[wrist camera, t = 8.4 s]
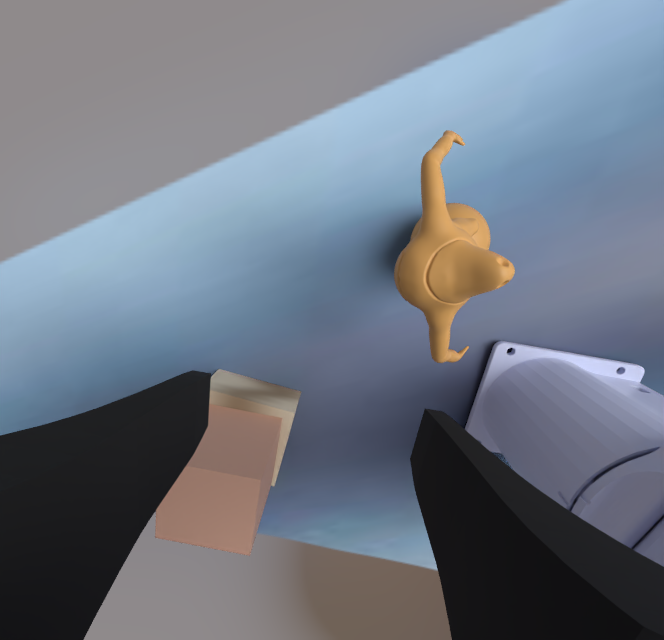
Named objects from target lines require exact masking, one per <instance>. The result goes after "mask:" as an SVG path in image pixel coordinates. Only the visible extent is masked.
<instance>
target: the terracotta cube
mask: <svg viewBox="0 0 664 640" xmlns="http://www.w3.org/2000/svg"><path fill="white" fill-rule="evenodd" d="M282 419H283V418H280V417H274V416H269V415H264V414H259V413H254V412H249V411H244V410H238V409H233V408H228V407H223V406H218V405H213V404H209V419H208V427H207V429H206V431H205V433H204V435H203V437H202V439H201V441H200V443H199V445H198V447H197V449H196V451H195V453H194V455H193V456H192V458H191V459H190V461H189V462H188V464H187V465H186V467H185V468H184V470H183V471H182V473H181V474H180V476H179V477H178V478H177V480H176V481H175V483H174V484H173V486H172V487H171V489H170V490H169V492H168V493H167V495H166V496H165V498H164V499H163V500H162V502H161V503H160V505H159V506H158V508H157V509H156V533H155V537H156V538H159V539H165V540H170V541H175V542H180V543H186V544H191V545H196V546H201V547H207V548H212V549H217V550H222V551H228V552H233V553H238V554H243V555H248V556H250V553H251V550H252V547H253V543H254V540H255V536H256V533H257V530H258V527H259V523H260V520H261V517H262V513H263V510H264V507H265V503H266V500H267V497H268V493H269V490H270V487H271V483H272V479H273V473H274V467H275V461H276V455H277V449H278V443H279V437H280V431H281V425H282Z"/></svg>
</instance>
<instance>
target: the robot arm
mask: <svg viewBox="0 0 664 640" xmlns="http://www.w3.org/2000/svg"><path fill="white" fill-rule="evenodd" d="M509 348H512V351H511V352H510V353H507V350H508V349H509ZM618 368H620V369H619V370H618V371H617V369H618ZM643 375H644V369H643V367H641V366H639V365H636V364H632V363H627V362H621V361H615V360H609V359H604V358H598V357H592V356H586V355H581V354H575V353H569V352H563V351H558V350H552V349H546V348H540V347H535V346H529V345H523V344H517V343H512V342H506V341H499V342H497V343H495V344H494V346H493V348H492V351H491V354H490V357H489V360H488V363H487V366H486V369H485V372H484V374H483V377H482V380H481V383H480V386H479V389H478V392H477V395H476V398H475V401H474V404H473V407H472V409H471V412H470V415H469V418H468V421H467V424H466V427H465V429H464V428H463V427H461V426H460V425H459V424H458V423H457V422H456V421H454V420H453V419H452V418H451V417H450V416H448V415H447V414H446V413H444V412H442V411H436V410H430V409H425V410H424V414H423V417H422V420H421V424H420V427H419V431H418V434H417V437H416V441H415V444H414V448H413V451H412V454H411V458H410V460H411V467H412V474H413V481H414V486H415V491H416V495H417V498H418V502H419V505H420V509H421V512H422V516H423V519H424V523H425V526H426V530H427V533H428V537H429V540H430V544H431V547H432V550H433V554H434V557H435V561H436V564H437V568H438V572H439V576H440V580H441V585H442V590H443V595H444V600H445V605H446V610H447V615H448V620H449V625H450V631H451V637H452V640H664V396H663V395H661V394H659V393H657V392H655V391H653V390H652V389H650V388H648V387H646V386H644V385H642V384H640V381H641V379H642V377H643ZM210 382H211V373H205V372H198V371H190V372H187V373H184V374H181V375H179V376H176V377H174V378H172V379H169V380H167V381H165V382H162V383H160V384H157V385H155V386H153V387H150V388H148V389H146V390H143V391H141V392H138V393H136V394H133V395H131V396H128V397H126V398H123V399H120V400H118V401H115V402H112V403H110V404H107V405H104V406H102V407H99V408H96V409H93V410H91V411H88V412H85V413H82V414H78V415H75V416H72V417H69V418H65V419H62V420H59V421H55V422H52V423H49V424H45V425H41V426H37V427H33V428H29V429H25V430H21V431H17V432H13V433H9V434H5V435H1V436H0V640H83V639H84V637H85V635H86V633H87V631H88V629H89V628H90V626H91V624H92V622H93V620H94V618H95V616H96V614H97V612H98V610H99V608H100V607H101V605H102V603H103V601H104V599H105V597H106V595H107V593H108V591H109V590H110V588H111V586H112V584H113V582H114V580H115V579H116V577H117V575H118V573H119V571H120V569H121V567H122V566H123V564H124V562H125V561H126V559H127V557H128V555H129V553H130V551H131V550H132V548H133V546H134V544H135V543H136V541H137V539H138V537H139V536H140V534H141V532H142V530H143V529H144V527H145V526H146V524H147V523H148V521H149V520H150V518H151V517H152V515H153V514H154V512H155V511H156V509H157V508H158V506H159V505H160V503H161V502H162V500H163V499H164V498H165V496H166V495H167V493H168V492H169V490H170V489H171V487H172V486H173V484H174V483H175V481H176V480H177V478H178V477H179V476H180V474H181V473H182V471H183V470H184V468H185V467H186V465H187V464H188V462H189V461H190V459H191V458H192V456H193V455H194V453H195V451H196V449H197V447H198V445H199V443H200V441H201V439H202V437H203V435H204V433H205V431H206V429H207V427H208V419H209V400H210ZM478 440H479V441H478ZM491 452H496V453H502V454H503V455H504V457H505V458H506V460H507V461H508V463H509V464H510V466H511V467H512V469H513V470H512V469H511V468H510V467H509V466H507V465H506V464H505V463H504V462H502V461H501V460H500V459H499V458H497V457H496V456H495V455H494V454H493V453H491Z"/></svg>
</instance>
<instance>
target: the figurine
mask: <svg viewBox="0 0 664 640" xmlns="http://www.w3.org/2000/svg"><path fill="white" fill-rule="evenodd" d="M453 142H455V143H458V144H460V145H462V146H464V145H465V143H464V142H463V139H462V138H461V137H460V136H459V135H458V134H456V133H455V132H453V131H449V130H448V131H445V132H444V134H443V137H441V138H440V139H439V140H438V141H437V142H436V144H435V145H434V146H433V147H432V149H431V150H429V151H428V152H427V153H426V154H425V155H424V157H423V160H422V164H421V195H422V208H423V212H422V217H421V218H420V220H419V221H418V222H417V224H416V225H415V227H414V229H413V232H412V235H411V240H410V243H409V244H408V245H407V246H406V248H404V249H403V251H402V252H401V253H400V255H399V257H398V259H397V262H396V265H395V270H394V279H395V284H396V287H397V289H398V291H399V293H400V294H401V295H402V297H403V298H404V299H405V300H406V301H408V302H409V303H410V304H412V305H413V306H415V307H417V308H419V309H420V310H422V311H423V313H424V314H425V316H426V319H427V322H428V325H429V338H430V349H431V355H432V358H433V360H434V361H435V362H437V363H443V362H445V361H447V362H456V361H458V360H459V359H460V358H461V357H462V356H463V355H464V353H465V352H466V351H467V349H468V348H469V346H467V347H465V348H464V349H463V350H462V351H460V352H458V353H457V352H456V351H454V350H451V349H448V347H449V340H450V326H451V323H452V321H453V318H454V316H455V314H456V312H457V311H458V310H459V309H460V308H461V307H462V306H463V305H464V304H465V303H466V302H467V301H468V300H469V298H470V297H473V296H475V295H478V294H482V293H485V292H489V291H492V290H495V289H498V288H500V287H502V286H504V285H505V284H507V283H508V282H509V281H510V280H511V279H512V277H513V276H514V272H515V269H514V266H513V264H512V263H511V262H510V261H509V260H507V259H506V258H504V257H502V256H500V255H498V254H496V253H494V252H492V251H489V246H490V231H489V227H488V225H487V222H486V221H485V219H484V218H483V216H482V215H481V214H480V213H479V212H478V211H476V210H475V209H473V208H472V207H470V206H467V205H464V204H459V203H448V204H446V201H445V190H444V184H443V178H442V174H441V169H440V165H441V163H442V161H443V158H444V157H445V156H446V155H447V154H448V152H449V151H450V149H451V147H452V144H453Z"/></svg>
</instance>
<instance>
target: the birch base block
mask: <svg viewBox="0 0 664 640" xmlns="http://www.w3.org/2000/svg"><path fill="white" fill-rule="evenodd" d="M300 394H301V391H297V390H293V389H290V388H286V387H283V386H279V385H275V384H272V383H268V382H264V381H261V380H257V379H254V378H250V377H246V376H243V375H239V374H235V373H232V372H228V371H225V370H221V369H218V370H217V371H216V372H215V373H214V374H213V376H212V377H211V382H210V400H209V404H213V405H218V406H223V407H228V408H233V409H238V410H244V411H249V412H254V413H259V414H264V415H269V416H274V417H280V418H283V419H282V425H281V431H280V437H279V443H278V449H277V455H276V461H275V467H274V473H273V479H272V483H271V486H275V482H276V479H277V476H278V472H279V469H280V465H281V462H282V458H283V455H284V451H285V448H286V444H287V441H288V437H289V434H290V430H291V426H292V423H293V419H294V416H295V412H296V409H297V405H298V402H299V398H300Z"/></svg>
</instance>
